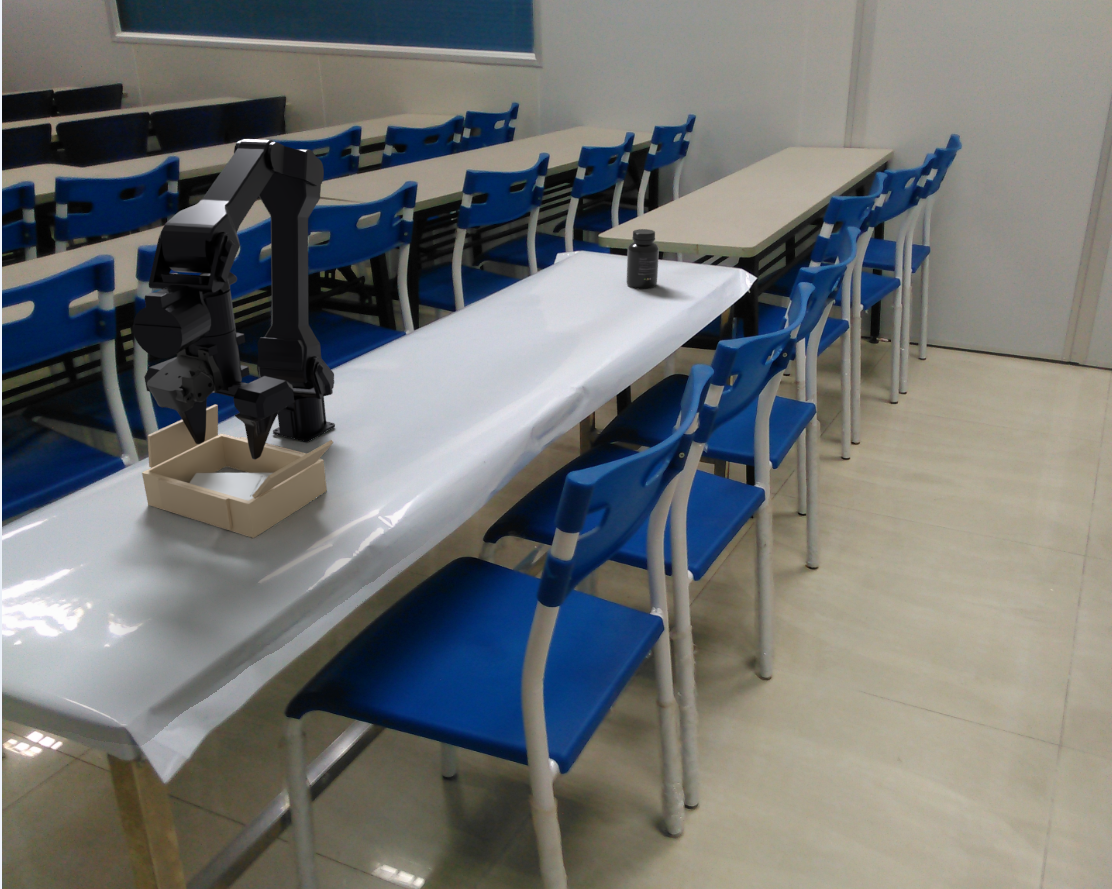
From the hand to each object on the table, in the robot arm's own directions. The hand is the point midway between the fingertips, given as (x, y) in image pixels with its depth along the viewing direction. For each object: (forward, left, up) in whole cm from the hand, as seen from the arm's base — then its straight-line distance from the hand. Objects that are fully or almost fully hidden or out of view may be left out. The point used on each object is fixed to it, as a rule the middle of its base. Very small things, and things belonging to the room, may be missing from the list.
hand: (228, 450), depth 118 cm
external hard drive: (0, +1, -6) cm, 7 cm away
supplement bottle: (-117, +7, -7) cm, 117 cm away
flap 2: (0, +10, 0) cm, 10 cm away
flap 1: (0, -7, 0) cm, 7 cm away
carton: (0, +1, -6) cm, 7 cm away
